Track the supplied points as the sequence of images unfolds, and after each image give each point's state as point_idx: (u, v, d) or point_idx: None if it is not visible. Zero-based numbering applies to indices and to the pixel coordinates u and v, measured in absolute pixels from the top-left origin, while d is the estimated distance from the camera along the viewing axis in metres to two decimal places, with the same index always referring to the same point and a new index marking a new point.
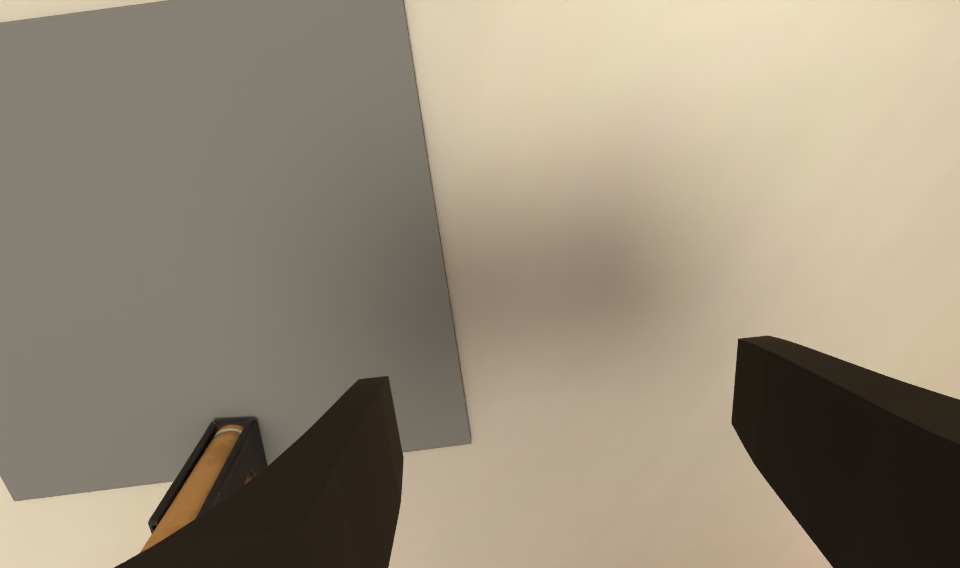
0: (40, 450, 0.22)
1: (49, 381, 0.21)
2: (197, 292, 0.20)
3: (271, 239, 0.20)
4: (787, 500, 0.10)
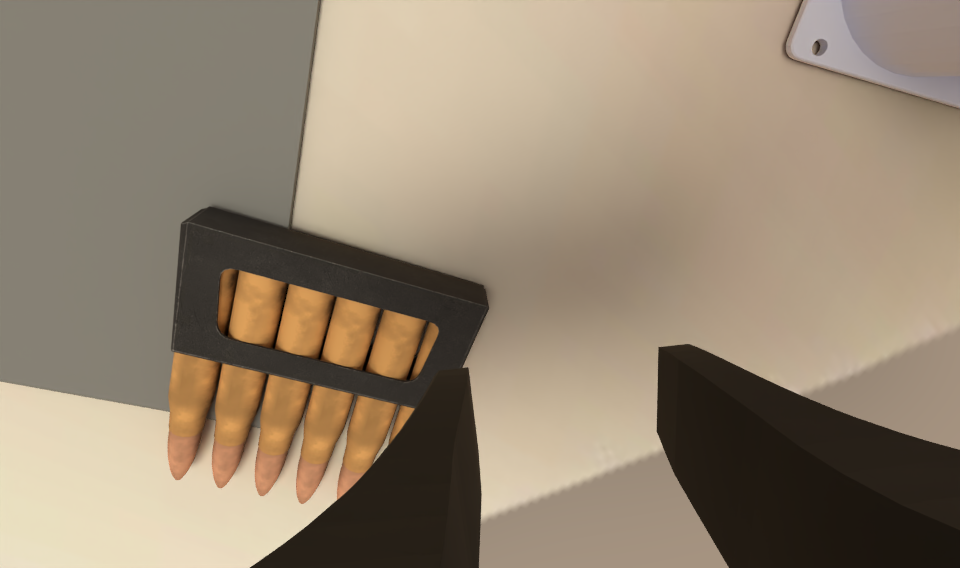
0: None
1: (129, 322, 0.21)
2: (46, 126, 0.18)
3: None
4: (698, 509, 0.10)
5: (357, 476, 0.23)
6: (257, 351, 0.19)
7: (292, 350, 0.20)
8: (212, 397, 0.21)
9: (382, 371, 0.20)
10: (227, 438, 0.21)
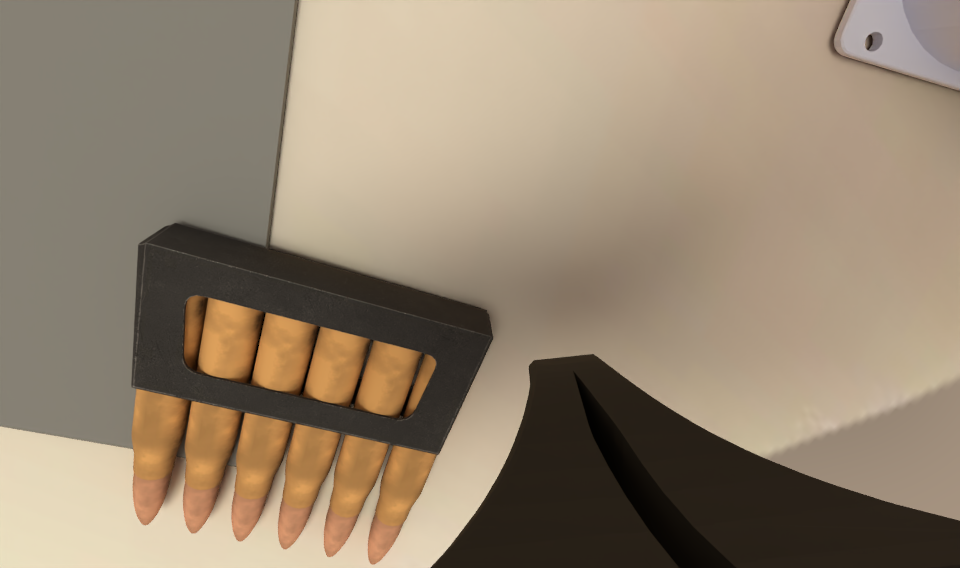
0: None
1: (88, 352, 0.18)
2: None
3: None
4: None
5: (345, 521, 0.20)
6: (230, 387, 0.17)
7: (270, 385, 0.17)
8: (181, 436, 0.19)
9: (372, 408, 0.18)
10: (199, 482, 0.19)
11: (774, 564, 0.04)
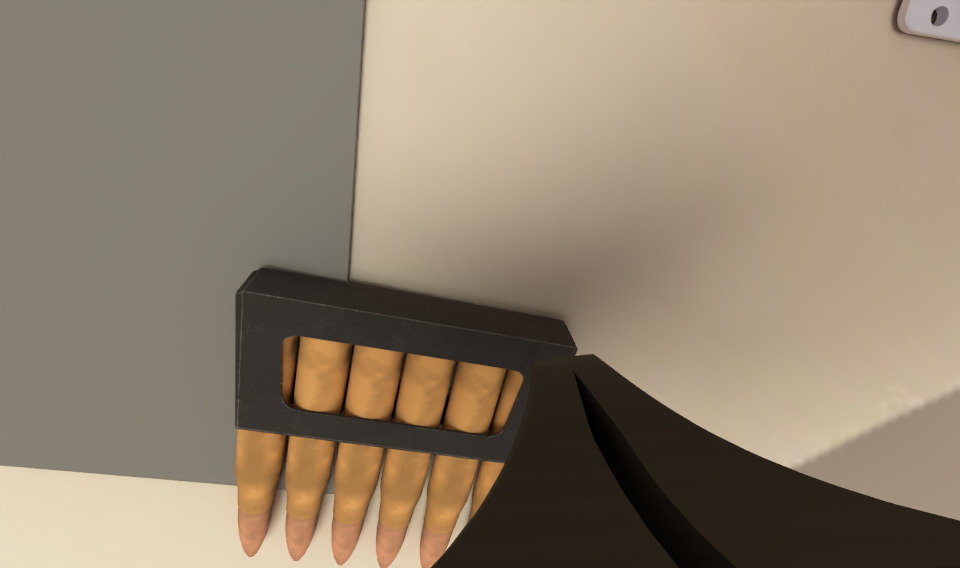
0: None
1: (186, 397, 0.19)
2: (79, 200, 0.17)
3: (7, 82, 0.15)
4: None
5: (442, 537, 0.21)
6: (327, 420, 0.18)
7: (365, 414, 0.18)
8: (281, 469, 0.19)
9: (463, 427, 0.18)
10: (301, 512, 0.20)
11: (774, 564, 0.04)
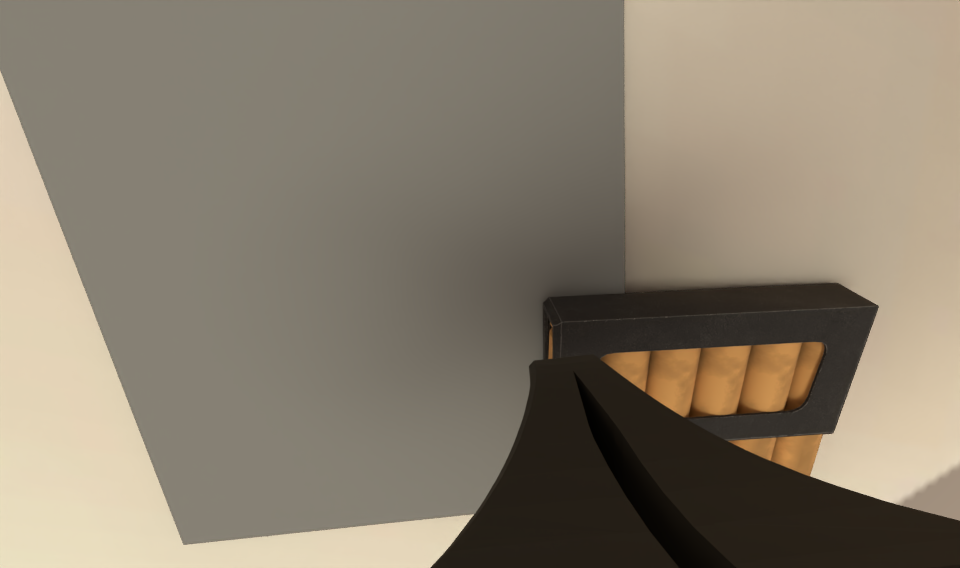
0: None
1: (482, 434, 0.20)
2: (376, 272, 0.18)
3: (306, 181, 0.17)
4: None
5: None
6: None
7: None
8: None
9: (766, 407, 0.19)
10: None
11: (775, 564, 0.04)
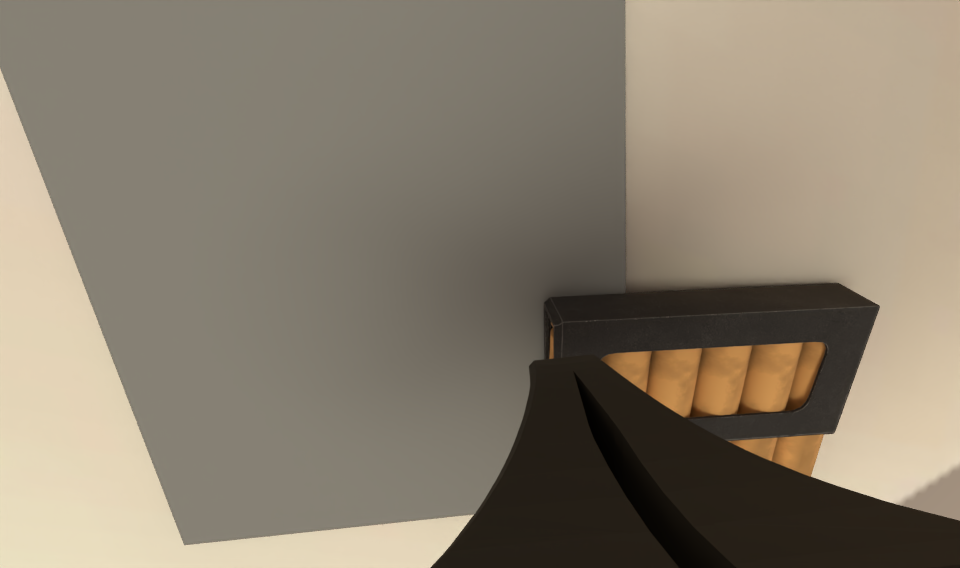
0: None
1: (483, 434, 0.20)
2: (377, 273, 0.18)
3: (307, 181, 0.17)
4: None
5: None
6: None
7: None
8: None
9: (767, 408, 0.19)
10: None
11: (774, 564, 0.04)
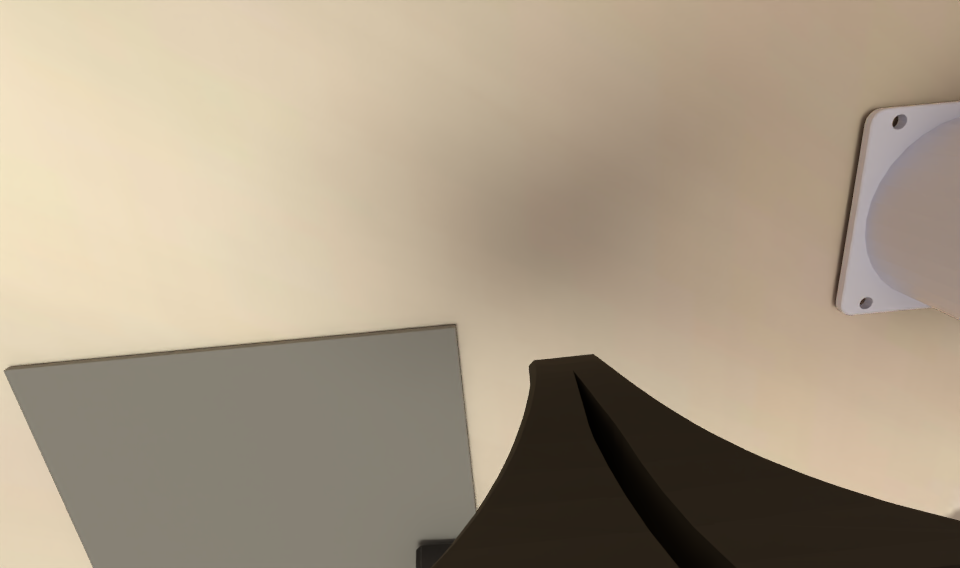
0: None
1: None
2: (294, 528, 0.25)
3: (241, 474, 0.23)
4: None
5: None
6: None
7: None
8: None
9: None
10: None
11: (774, 566, 0.04)
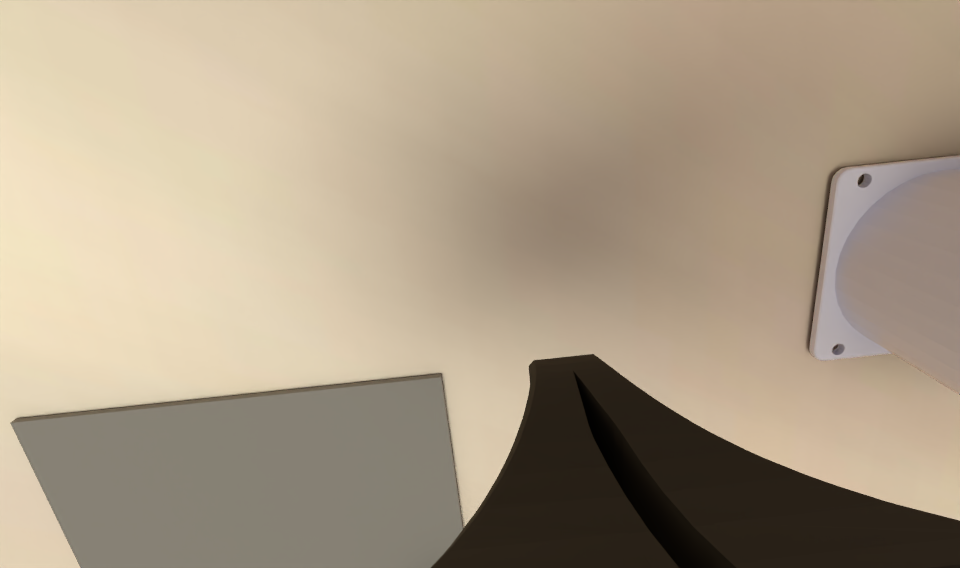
0: None
1: None
2: (291, 566, 0.25)
3: (239, 516, 0.24)
4: None
5: None
6: None
7: None
8: None
9: None
10: None
11: (775, 566, 0.04)
